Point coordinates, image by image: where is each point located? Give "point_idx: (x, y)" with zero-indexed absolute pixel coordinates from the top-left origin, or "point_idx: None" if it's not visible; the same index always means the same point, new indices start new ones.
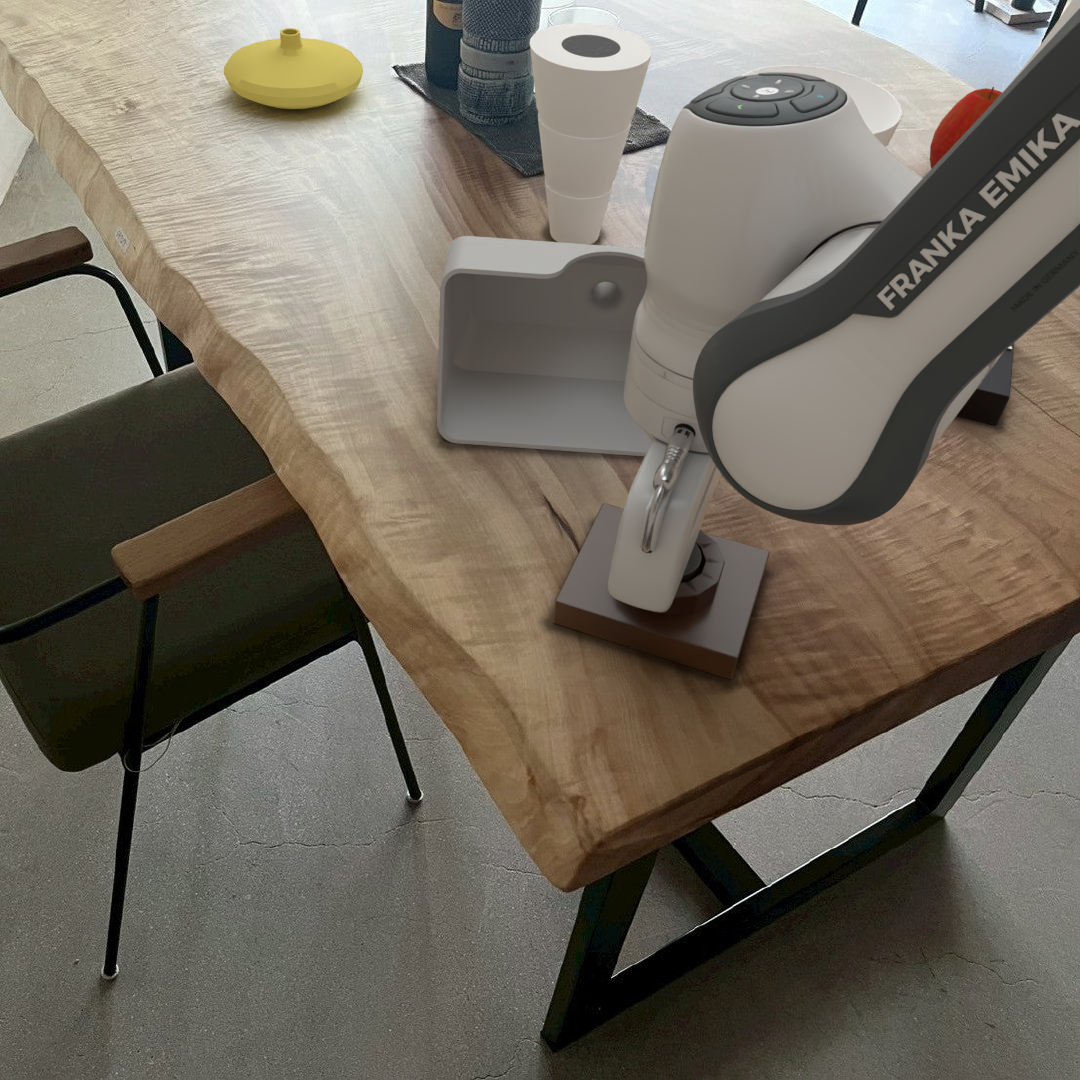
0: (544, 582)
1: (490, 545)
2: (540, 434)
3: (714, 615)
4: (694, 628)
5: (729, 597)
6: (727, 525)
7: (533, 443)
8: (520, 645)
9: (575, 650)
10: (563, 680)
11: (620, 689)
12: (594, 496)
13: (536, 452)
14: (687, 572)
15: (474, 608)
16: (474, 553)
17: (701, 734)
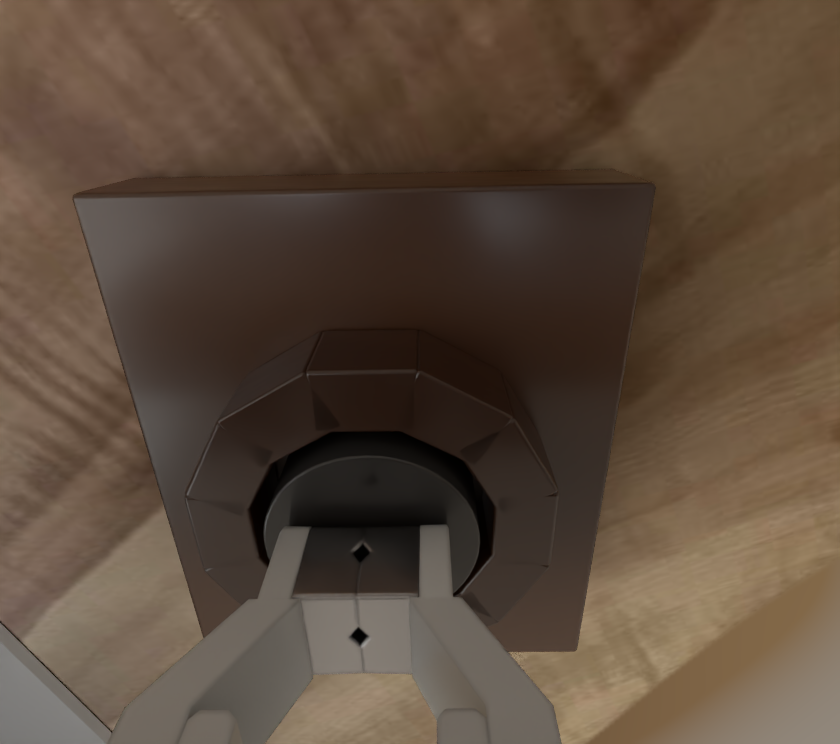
0: None
1: (402, 714)
2: (65, 740)
3: (482, 308)
4: (562, 352)
5: (381, 282)
6: (16, 332)
7: (100, 741)
8: (634, 614)
9: (619, 533)
10: (708, 530)
11: (710, 426)
12: (156, 617)
13: (115, 724)
14: (435, 481)
15: (566, 691)
16: (435, 725)
17: (832, 203)
